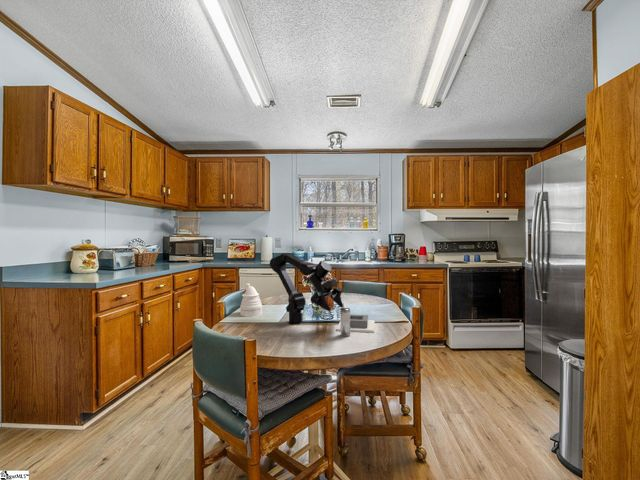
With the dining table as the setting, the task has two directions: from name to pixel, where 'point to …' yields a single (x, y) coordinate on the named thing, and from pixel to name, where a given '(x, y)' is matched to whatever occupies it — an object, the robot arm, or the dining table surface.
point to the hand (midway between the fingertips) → (336, 308)
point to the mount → (359, 324)
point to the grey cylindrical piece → (345, 322)
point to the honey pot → (250, 303)
